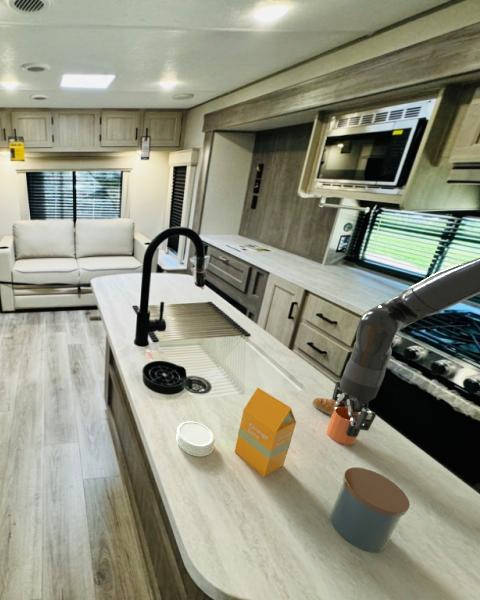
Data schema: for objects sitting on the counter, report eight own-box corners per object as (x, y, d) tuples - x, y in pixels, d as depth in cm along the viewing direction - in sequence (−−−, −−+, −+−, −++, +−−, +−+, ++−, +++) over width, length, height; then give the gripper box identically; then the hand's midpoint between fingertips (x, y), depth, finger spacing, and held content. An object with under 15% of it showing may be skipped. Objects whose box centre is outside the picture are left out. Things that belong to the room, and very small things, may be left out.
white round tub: (221, 451, 85) (223, 442, 84) (190, 461, 82) (191, 451, 81) (197, 426, 94) (199, 417, 92) (169, 434, 91) (170, 425, 90)
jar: (369, 511, 69) (387, 471, 65) (399, 559, 61) (423, 517, 56) (320, 502, 71) (335, 463, 67) (342, 548, 63) (361, 506, 58)
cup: (347, 429, 91) (355, 408, 88) (359, 447, 85) (369, 424, 83) (322, 426, 93) (329, 405, 90) (333, 443, 87) (341, 420, 84)
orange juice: (253, 441, 88) (267, 382, 81) (283, 465, 80) (302, 403, 73) (233, 451, 85) (246, 391, 78) (263, 477, 77) (281, 414, 70)
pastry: (311, 410, 99) (314, 401, 98) (311, 399, 104) (314, 389, 103) (349, 422, 94) (353, 412, 92) (347, 409, 99) (351, 400, 98)
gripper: (398, 396, 74) (375, 448, 80) (362, 363, 87) (345, 410, 93) (362, 392, 76) (342, 444, 82) (332, 360, 89) (316, 407, 95)
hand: (343, 426), depth 88 cm, fingers closed on cup, 6 cm apart
